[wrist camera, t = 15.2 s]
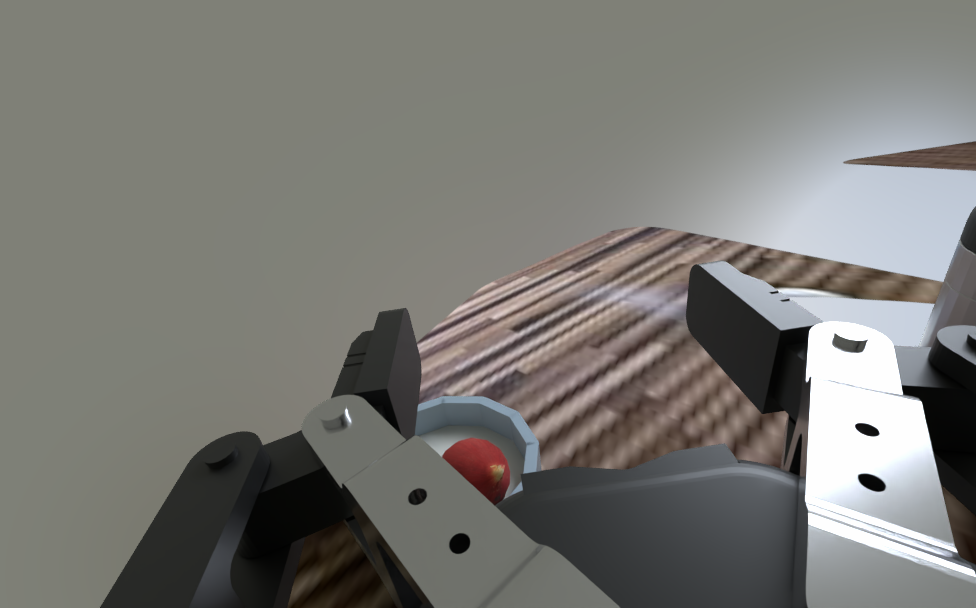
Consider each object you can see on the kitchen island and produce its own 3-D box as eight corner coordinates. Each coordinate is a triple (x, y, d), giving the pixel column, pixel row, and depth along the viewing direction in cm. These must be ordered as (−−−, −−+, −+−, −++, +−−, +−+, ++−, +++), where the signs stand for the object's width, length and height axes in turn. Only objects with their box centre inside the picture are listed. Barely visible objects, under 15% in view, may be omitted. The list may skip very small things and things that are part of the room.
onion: (487, 502, 38) (542, 505, 32) (428, 525, 35) (477, 532, 29) (472, 435, 40) (523, 425, 34) (414, 451, 37) (458, 443, 30)
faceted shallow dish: (500, 407, 48) (496, 378, 46) (575, 528, 34) (573, 494, 32) (353, 459, 44) (342, 429, 42) (372, 620, 30) (357, 586, 28)
